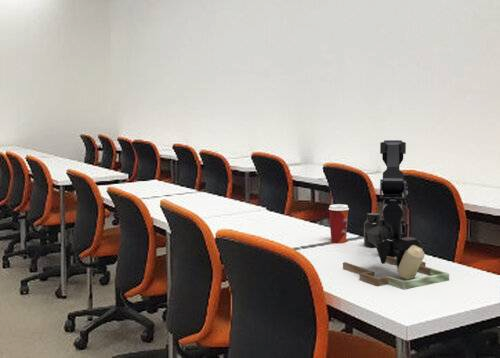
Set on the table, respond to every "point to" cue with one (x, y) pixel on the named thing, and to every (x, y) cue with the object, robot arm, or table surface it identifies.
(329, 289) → the table surface
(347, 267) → the trap lane
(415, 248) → the candle
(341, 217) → the paper cup
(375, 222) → the supplement bottle
